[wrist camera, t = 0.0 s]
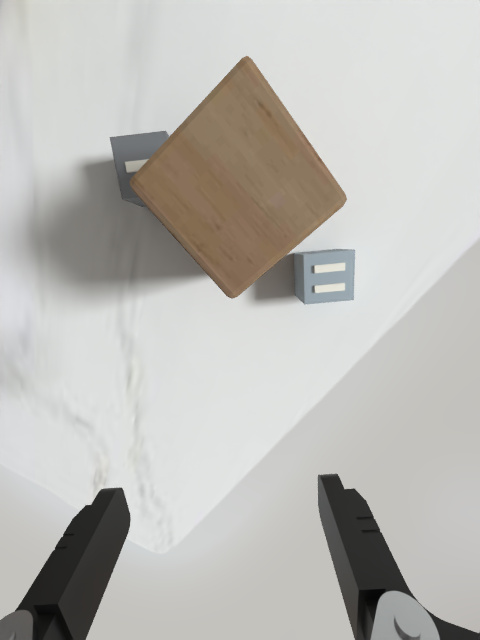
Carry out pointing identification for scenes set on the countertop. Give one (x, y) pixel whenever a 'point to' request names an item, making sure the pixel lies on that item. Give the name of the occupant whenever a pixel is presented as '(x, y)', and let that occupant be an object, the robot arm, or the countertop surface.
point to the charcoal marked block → (134, 158)
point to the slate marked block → (324, 275)
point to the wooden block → (238, 181)
